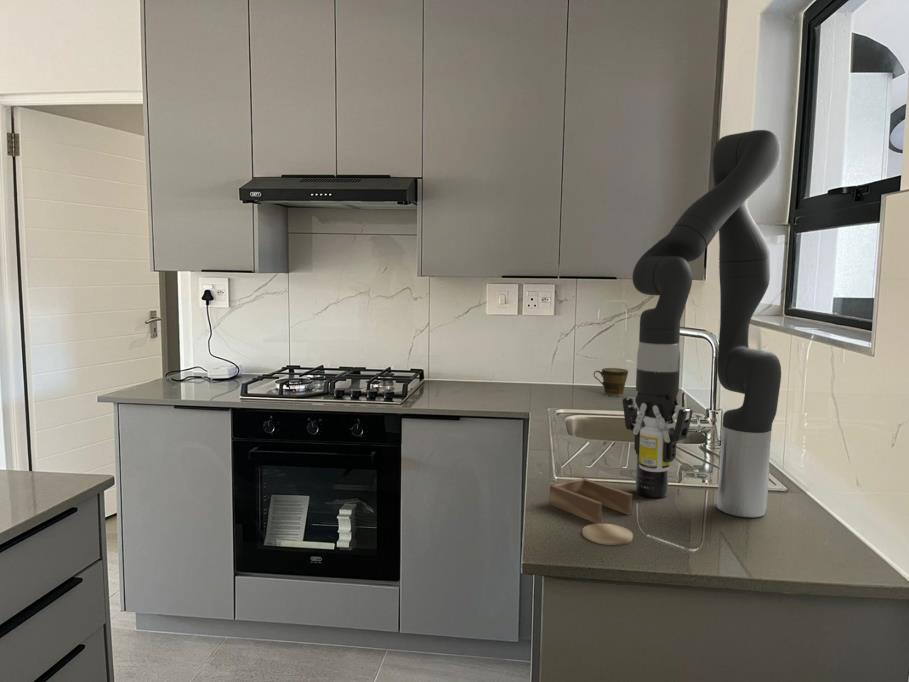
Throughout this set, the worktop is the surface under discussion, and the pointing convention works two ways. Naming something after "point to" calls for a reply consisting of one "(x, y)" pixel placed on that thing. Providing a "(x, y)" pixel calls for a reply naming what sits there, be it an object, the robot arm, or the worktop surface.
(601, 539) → the coaster
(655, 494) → the supplement bottle
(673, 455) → the robot arm
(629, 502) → the frame
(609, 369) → the ceramic cup
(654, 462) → the supplement bottle
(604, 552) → the worktop surface
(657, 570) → the worktop surface
